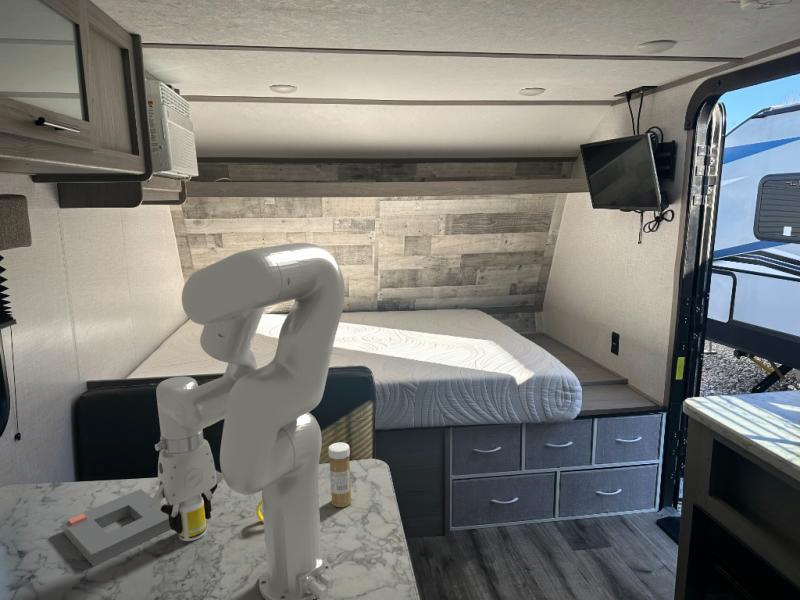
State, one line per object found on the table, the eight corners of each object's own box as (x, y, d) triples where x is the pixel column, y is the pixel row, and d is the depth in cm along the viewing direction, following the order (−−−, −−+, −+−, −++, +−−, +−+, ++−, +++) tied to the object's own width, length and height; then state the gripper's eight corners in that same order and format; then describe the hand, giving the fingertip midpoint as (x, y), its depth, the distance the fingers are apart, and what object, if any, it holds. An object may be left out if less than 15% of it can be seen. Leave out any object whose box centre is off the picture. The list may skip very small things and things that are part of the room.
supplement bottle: (211, 526, 113) (207, 483, 111) (199, 542, 108) (194, 498, 106) (186, 525, 113) (181, 482, 111) (173, 541, 108) (168, 496, 106)
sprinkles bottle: (352, 496, 123) (350, 441, 120) (350, 508, 118) (347, 451, 115) (332, 496, 123) (330, 441, 120) (329, 508, 118) (326, 451, 116)
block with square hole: (176, 526, 113) (174, 513, 112) (93, 566, 101) (91, 551, 101) (141, 498, 123) (140, 486, 123) (63, 532, 112) (61, 518, 111)
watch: (257, 527, 113) (253, 501, 112) (260, 519, 115) (256, 494, 114) (286, 524, 113) (282, 498, 112) (288, 516, 116) (285, 491, 114)
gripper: (147, 463, 98) (158, 552, 101) (232, 430, 110) (239, 511, 114) (129, 450, 103) (140, 536, 106) (212, 421, 115) (219, 498, 119)
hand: (191, 522), depth 110 cm, fingers closed on supplement bottle, 5 cm apart
